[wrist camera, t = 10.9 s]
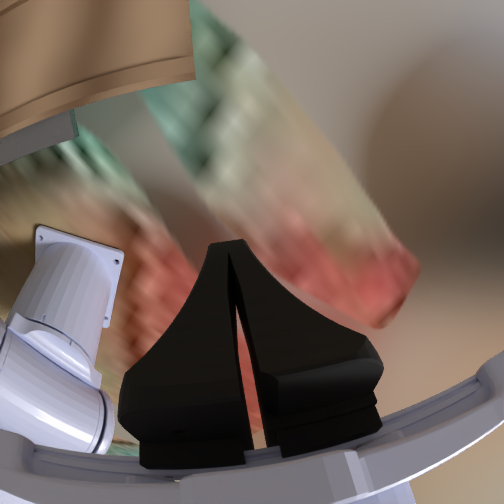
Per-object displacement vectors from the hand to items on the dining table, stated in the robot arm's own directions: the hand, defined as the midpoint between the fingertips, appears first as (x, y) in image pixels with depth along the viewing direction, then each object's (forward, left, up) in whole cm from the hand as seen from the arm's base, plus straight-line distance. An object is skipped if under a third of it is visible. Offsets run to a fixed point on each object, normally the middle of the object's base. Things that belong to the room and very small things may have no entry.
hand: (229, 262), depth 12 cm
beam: (+3, +17, -8) cm, 19 cm away
